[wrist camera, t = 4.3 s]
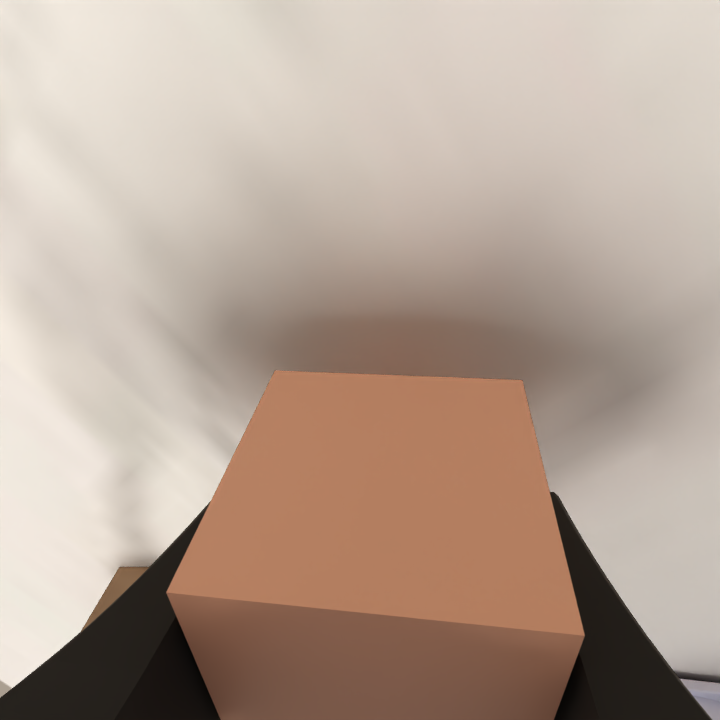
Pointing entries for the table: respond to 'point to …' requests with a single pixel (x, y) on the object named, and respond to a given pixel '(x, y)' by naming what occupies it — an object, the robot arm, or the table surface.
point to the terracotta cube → (382, 557)
